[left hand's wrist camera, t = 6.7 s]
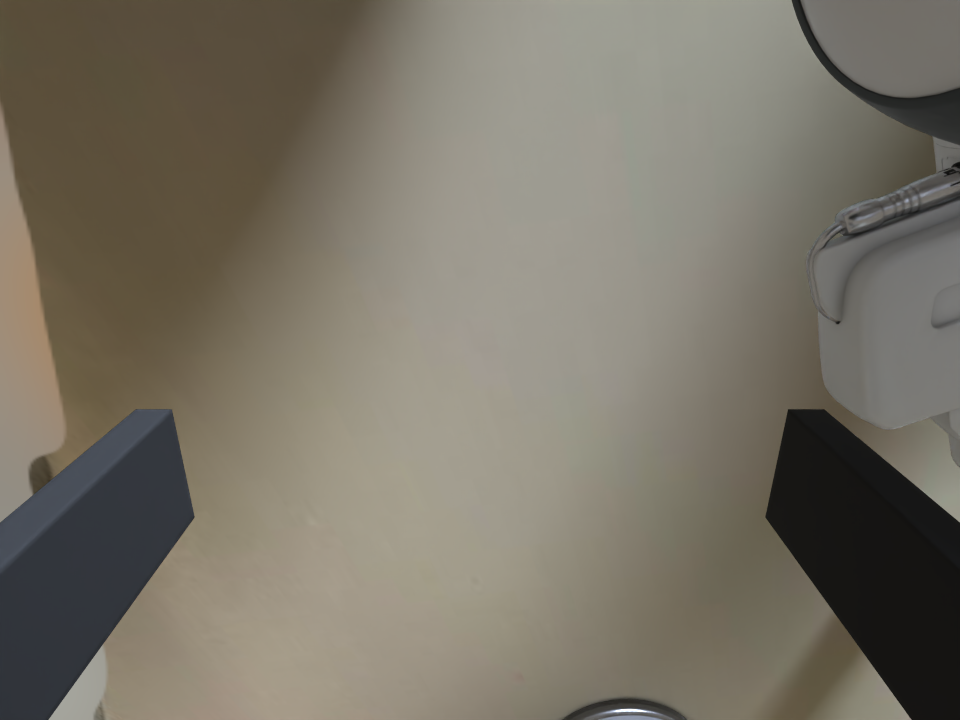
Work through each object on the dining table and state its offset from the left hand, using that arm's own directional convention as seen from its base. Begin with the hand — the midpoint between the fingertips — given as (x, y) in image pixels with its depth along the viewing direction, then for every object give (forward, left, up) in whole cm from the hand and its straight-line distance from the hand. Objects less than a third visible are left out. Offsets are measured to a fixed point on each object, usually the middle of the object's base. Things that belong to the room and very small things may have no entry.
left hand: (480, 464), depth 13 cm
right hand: (-6, -27, -12) cm, 30 cm away
